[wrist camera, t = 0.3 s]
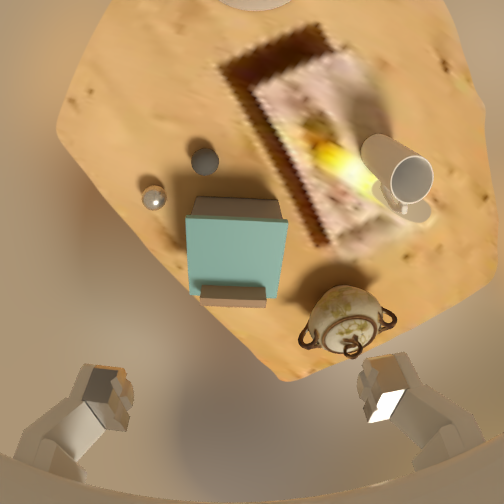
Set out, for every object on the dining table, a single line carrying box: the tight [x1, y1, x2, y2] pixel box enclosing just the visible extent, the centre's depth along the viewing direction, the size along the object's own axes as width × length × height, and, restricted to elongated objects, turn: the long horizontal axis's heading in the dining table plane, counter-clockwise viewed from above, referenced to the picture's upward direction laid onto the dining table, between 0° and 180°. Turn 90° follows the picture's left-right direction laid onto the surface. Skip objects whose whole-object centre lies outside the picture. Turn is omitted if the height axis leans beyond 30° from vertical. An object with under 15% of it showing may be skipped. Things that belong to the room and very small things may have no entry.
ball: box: [191, 148, 219, 176], centre depth 43 cm, size 4×4×4 cm
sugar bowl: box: [298, 285, 397, 359], centre depth 56 cm, size 20×15×15 cm
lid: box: [185, 215, 288, 308], centre depth 45 cm, size 14×14×4 cm
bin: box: [191, 196, 283, 219], centre depth 49 cm, size 13×13×7 cm
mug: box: [361, 134, 434, 214], centre depth 40 cm, size 10×7×12 cm, turn 6°
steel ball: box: [142, 185, 167, 211], centre depth 46 cm, size 4×4×4 cm
